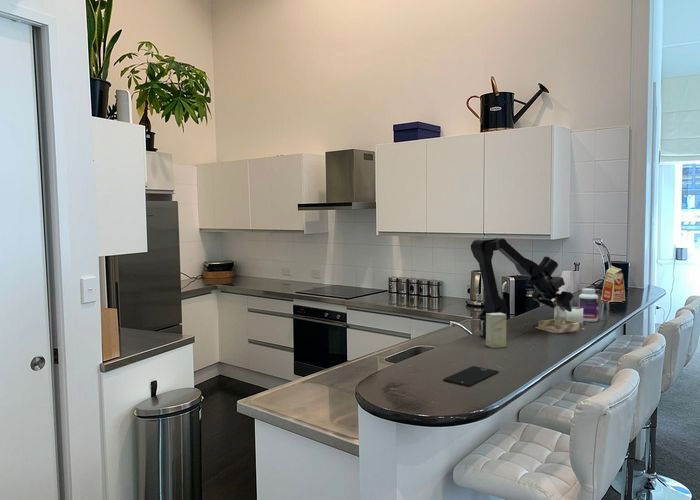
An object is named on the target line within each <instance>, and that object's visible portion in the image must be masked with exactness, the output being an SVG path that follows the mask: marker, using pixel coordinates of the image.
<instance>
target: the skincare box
mask: <svg viewBox="0 0 700 500" xmlns="http://www.w3.org/2000/svg"><path fill="white" fill-rule="evenodd" d="M485 346H487V347H489V348H490V349H491V348H505V347H507V313H506V314H503V313H486V338H485Z"/></svg>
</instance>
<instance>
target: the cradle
mask: <svg viewBox="0 0 700 500" xmlns="http://www.w3.org/2000/svg"><path fill="white" fill-rule="evenodd" d="M534 328H535V329H536V328H537V330H541V331H544V332H548V333H552V334H561V333H563V334H564V333H571V332H578V331H579V332H580V331H585V328H584V327H583V325H582V323H579V322H575V321H570V320H566V324H563V325H556V328H554V318H553V319H552V318H551V319H544V320H542V319H541V320H538V326H535V327H534Z"/></svg>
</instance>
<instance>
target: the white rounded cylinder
mask: <svg viewBox="0 0 700 500" xmlns="http://www.w3.org/2000/svg"><path fill="white" fill-rule="evenodd" d="M571 309H572V311H571V312H569V311H567V310H566V320H570V321H575V322H579V323H582V326H583V325H584V321H583V308H581V307H579V306H571Z"/></svg>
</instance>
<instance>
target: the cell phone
mask: <svg viewBox="0 0 700 500" xmlns="http://www.w3.org/2000/svg"><path fill="white" fill-rule="evenodd" d="M499 372H500V371H499V370H496V369H489V368H486V367H481V366H477V365H476V366H475V365H473V366H470V367H467V368H465V369H463V370H460V371H457V372H456V373H453V374H451V375H449V376H447V377H445V378H443V379H442V381H443V382H445V383H450V384H454V385H458V386H459V385H460V386H462V387H468V388H469V387H473V386H475V385H477V384H478V383H481V382H483V381H485V380H487V379H489V378H491V377H493V376H495V375H497V374H499Z"/></svg>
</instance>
